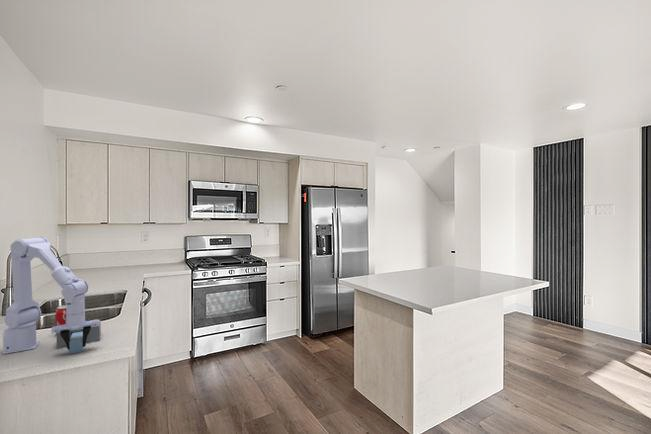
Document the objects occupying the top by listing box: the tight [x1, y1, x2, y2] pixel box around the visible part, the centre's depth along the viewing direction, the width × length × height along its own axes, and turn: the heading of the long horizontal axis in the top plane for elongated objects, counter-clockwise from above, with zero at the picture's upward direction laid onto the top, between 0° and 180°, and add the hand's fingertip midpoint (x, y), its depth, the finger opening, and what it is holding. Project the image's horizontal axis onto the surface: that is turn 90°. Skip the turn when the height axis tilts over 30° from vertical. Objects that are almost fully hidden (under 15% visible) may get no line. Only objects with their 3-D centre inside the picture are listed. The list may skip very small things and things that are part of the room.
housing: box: [55, 319, 102, 349], centre depth 138 cm, size 14×9×6 cm, turn 122°
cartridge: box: [69, 330, 85, 355], centre depth 131 cm, size 4×13×5 cm, turn 32°
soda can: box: [54, 304, 67, 333], centre depth 145 cm, size 7×7×12 cm
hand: (76, 347), depth 127 cm, fingers closed on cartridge, 4 cm apart
